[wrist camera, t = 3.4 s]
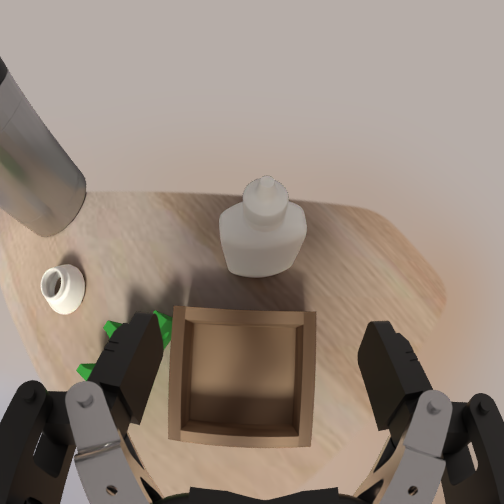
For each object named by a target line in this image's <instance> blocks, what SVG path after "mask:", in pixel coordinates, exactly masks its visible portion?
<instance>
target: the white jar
mask: <svg viewBox="0 0 504 504" xmlns="http://www.w3.org/2000/svg"><path fill="white" fill-rule="evenodd" d="M60 276H61V287H60V290H59V292H58V293H57V294H56V295H55V294H54V292H55V285H56V283H57V280H58V279H59V278H60ZM41 291H42V294H43V296H44V297H45V298H46V300H47V302H48V303H49V305H50V306H51V308H52V309H53V310H54V311H56V312H57V313H59V314H70V313H72V312H73V311H75V310H76V309H77V308H78V306H79V305H80V304H81V302H82V299H83V296H84V291H85V282H84V278H83V275H82V273H81V272H80V271H79V269H78V268H76V267H74V266H72V265H70V264H65V265H60V266H56V267H54V268H50V269H48V270H47V271H46V272H45V273H44V275H43V277H42V280H41Z"/></svg>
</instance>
